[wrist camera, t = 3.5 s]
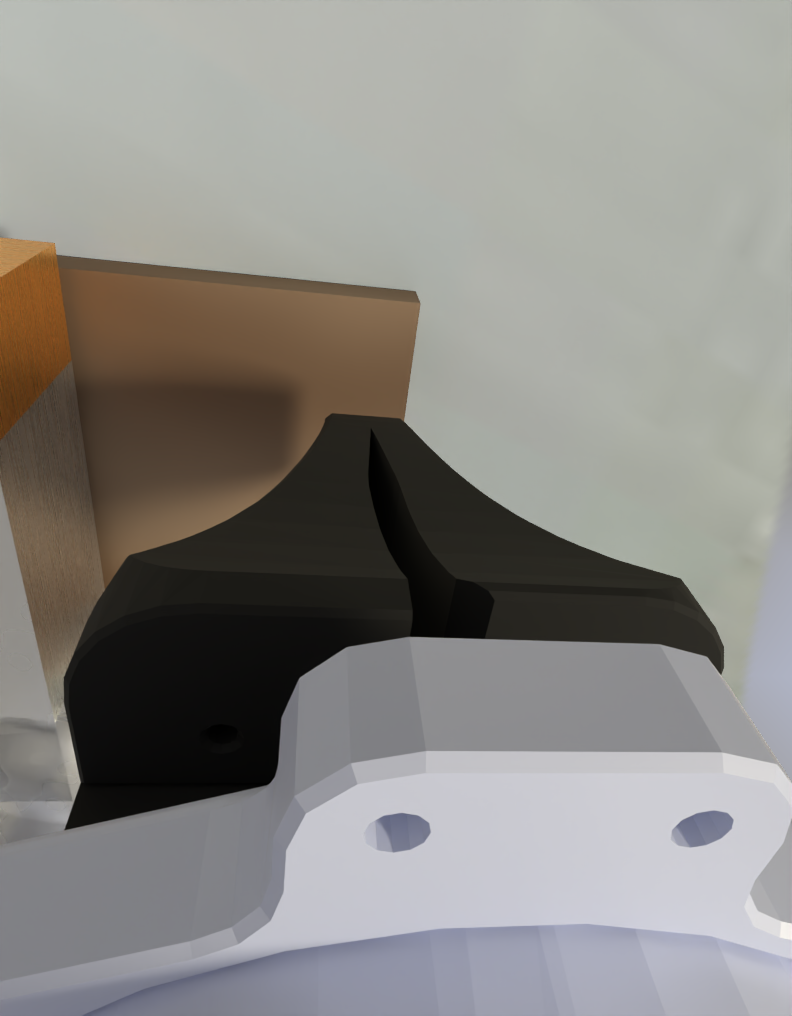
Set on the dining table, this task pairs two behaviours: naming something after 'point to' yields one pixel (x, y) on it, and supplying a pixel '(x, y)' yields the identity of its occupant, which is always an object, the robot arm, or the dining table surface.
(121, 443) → the brown flat board
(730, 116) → the dining table surface
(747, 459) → the dining table surface
